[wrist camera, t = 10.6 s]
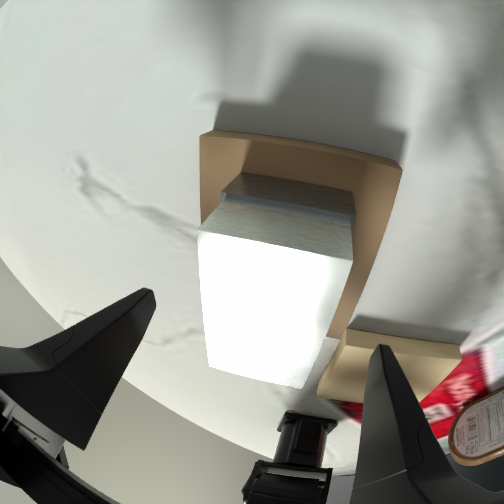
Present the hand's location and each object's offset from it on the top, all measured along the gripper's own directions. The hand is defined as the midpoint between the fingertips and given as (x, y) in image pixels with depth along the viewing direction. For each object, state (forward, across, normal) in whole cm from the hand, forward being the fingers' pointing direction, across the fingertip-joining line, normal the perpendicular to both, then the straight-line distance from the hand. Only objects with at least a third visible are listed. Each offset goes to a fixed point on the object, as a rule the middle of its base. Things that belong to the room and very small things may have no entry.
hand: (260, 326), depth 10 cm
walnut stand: (+6, 0, 0) cm, 6 cm away
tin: (+7, -28, +14) cm, 32 cm away
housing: (+5, 0, 0) cm, 5 cm away
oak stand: (+6, -10, +10) cm, 16 cm away
